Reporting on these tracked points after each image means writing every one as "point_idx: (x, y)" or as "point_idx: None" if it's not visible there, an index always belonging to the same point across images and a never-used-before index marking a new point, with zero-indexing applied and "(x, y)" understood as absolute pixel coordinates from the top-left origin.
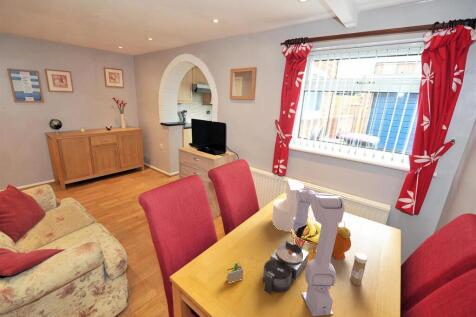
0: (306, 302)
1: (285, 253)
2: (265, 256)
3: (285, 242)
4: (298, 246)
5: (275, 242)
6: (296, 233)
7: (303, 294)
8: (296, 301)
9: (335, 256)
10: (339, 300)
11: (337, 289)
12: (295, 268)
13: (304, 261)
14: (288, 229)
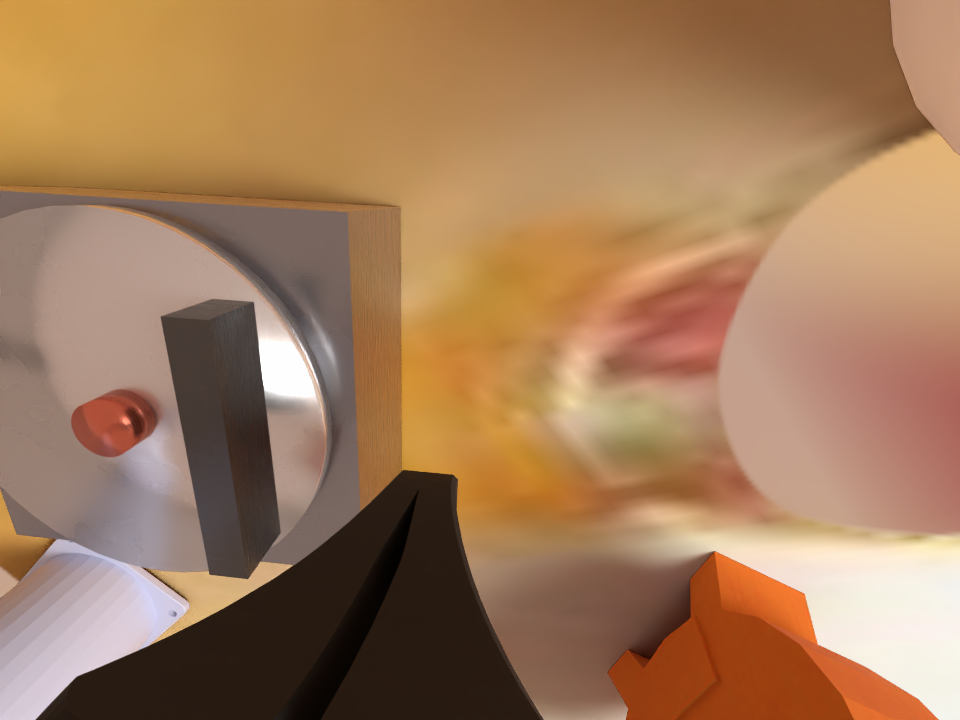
0: (36, 562)
1: (52, 372)
2: (151, 53)
3: (334, 249)
4: (224, 530)
5: (500, 19)
6: (364, 512)
7: None
8: (3, 505)
9: (631, 670)
10: None
11: None
12: (20, 519)
13: None
14: (950, 60)
